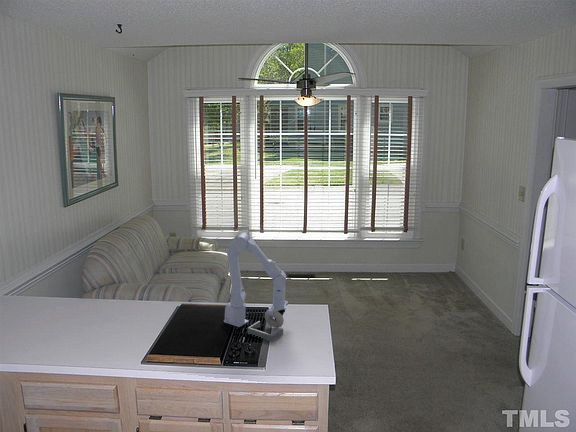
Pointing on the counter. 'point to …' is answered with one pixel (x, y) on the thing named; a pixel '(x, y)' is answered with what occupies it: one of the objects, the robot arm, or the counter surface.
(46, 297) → the counter surface
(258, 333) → the bracket
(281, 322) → the donut
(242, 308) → the robot arm
